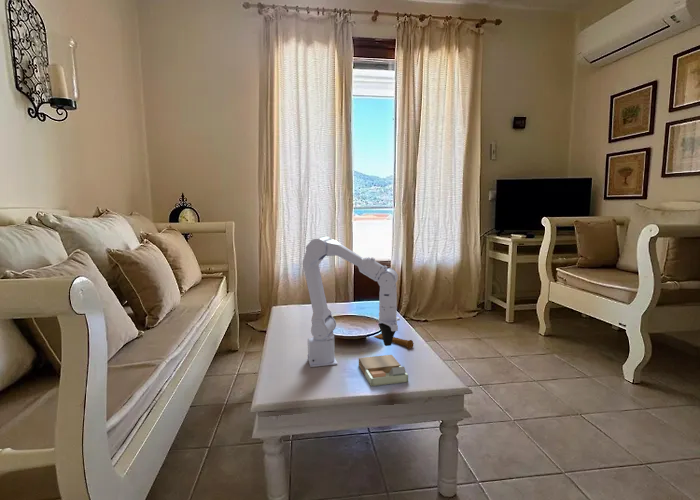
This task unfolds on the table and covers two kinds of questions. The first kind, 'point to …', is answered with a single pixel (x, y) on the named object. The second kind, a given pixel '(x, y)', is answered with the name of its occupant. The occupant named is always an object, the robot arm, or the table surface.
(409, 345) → the primitive tool
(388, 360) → the walnut board
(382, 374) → the terracotta tile
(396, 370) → the slate tile
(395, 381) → the tray
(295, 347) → the table surface
